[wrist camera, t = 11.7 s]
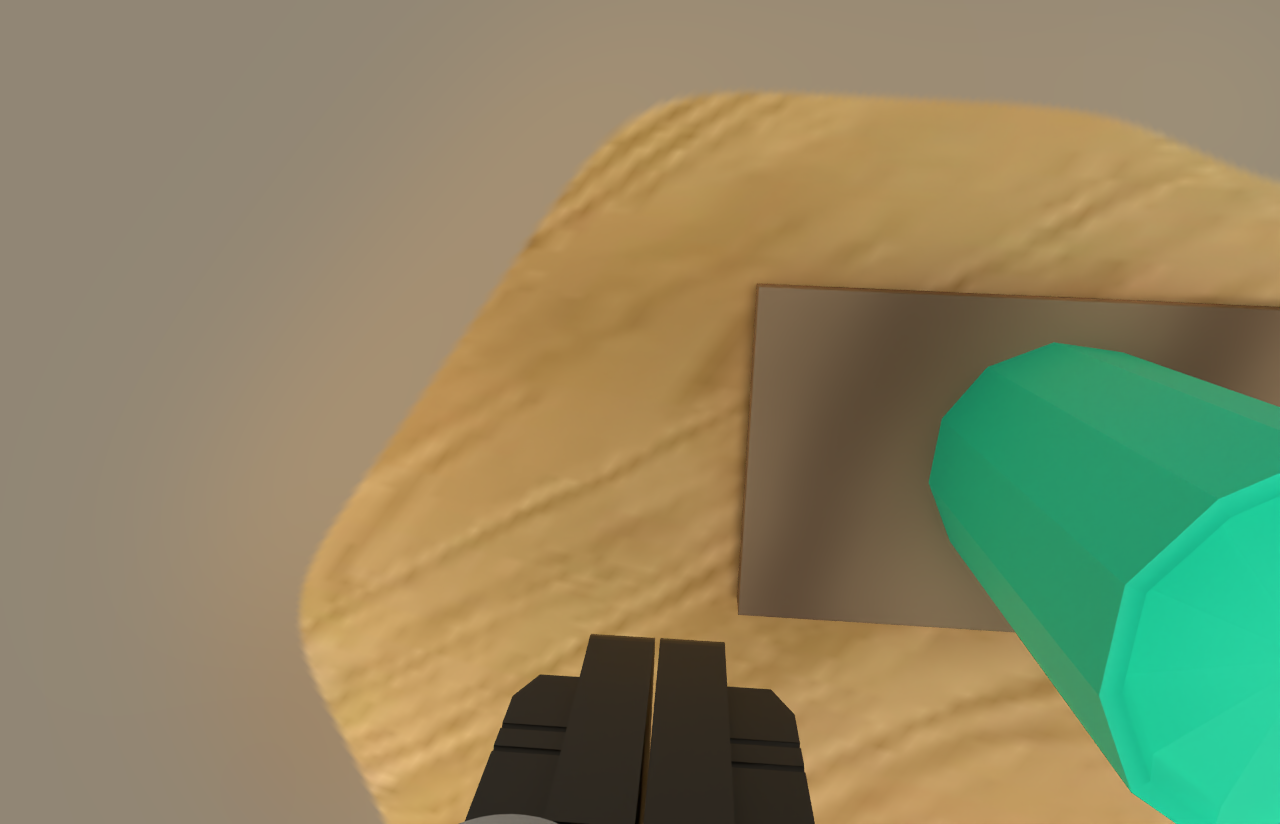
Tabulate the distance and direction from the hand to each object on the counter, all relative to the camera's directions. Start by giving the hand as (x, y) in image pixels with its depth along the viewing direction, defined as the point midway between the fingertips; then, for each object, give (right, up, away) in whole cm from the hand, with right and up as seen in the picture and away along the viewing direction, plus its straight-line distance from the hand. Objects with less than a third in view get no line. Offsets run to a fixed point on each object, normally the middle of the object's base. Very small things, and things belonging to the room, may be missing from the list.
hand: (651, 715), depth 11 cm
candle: (+10, +2, +12) cm, 16 cm away
